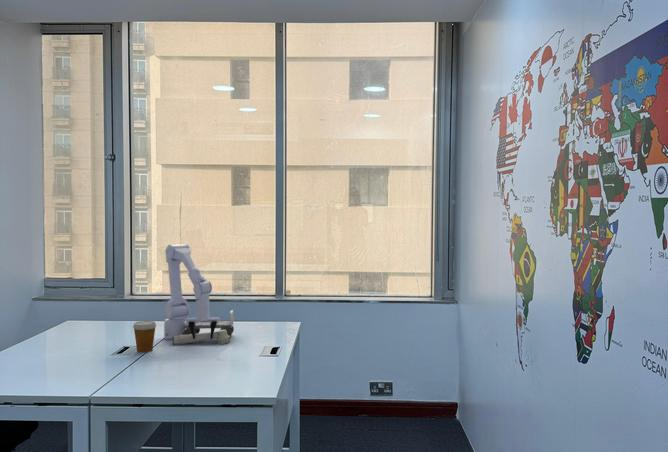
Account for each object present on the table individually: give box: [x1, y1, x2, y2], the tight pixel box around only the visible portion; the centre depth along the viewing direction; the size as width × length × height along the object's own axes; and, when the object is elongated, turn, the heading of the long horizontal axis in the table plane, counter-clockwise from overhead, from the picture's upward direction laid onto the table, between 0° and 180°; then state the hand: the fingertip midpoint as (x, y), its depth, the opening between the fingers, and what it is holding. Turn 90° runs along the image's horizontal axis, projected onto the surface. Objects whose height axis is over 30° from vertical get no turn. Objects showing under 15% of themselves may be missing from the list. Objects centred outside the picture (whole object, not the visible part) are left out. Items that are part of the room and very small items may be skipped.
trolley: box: [183, 310, 235, 340], centre depth 266 cm, size 22×13×12 cm, turn 95°
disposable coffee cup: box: [132, 320, 157, 353], centre depth 242 cm, size 10×10×12 cm
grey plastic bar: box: [171, 329, 231, 346], centre depth 257 cm, size 5×7×25 cm
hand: (203, 338), depth 254 cm, fingers open, 7 cm apart
